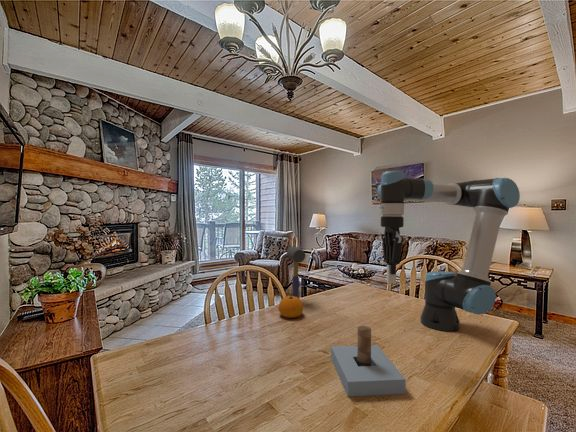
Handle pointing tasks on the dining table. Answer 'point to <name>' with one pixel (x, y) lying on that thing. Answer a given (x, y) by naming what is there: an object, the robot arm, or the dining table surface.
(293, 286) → the rubber mallet
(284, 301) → the fruit
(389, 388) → the seat board
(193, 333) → the dining table surface
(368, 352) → the peg
